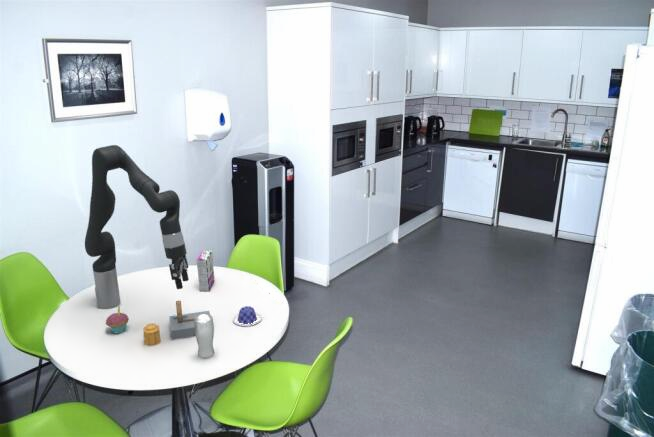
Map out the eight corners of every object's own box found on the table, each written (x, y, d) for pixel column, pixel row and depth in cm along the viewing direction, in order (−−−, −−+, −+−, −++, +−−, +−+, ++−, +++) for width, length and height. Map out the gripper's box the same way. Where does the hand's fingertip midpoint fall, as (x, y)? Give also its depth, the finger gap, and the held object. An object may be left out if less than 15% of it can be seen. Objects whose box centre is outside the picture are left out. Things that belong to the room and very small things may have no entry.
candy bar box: (204, 281, 254) (202, 250, 249) (214, 281, 254) (212, 250, 249) (198, 291, 244) (196, 259, 238) (209, 291, 244) (207, 259, 238)
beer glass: (198, 349, 198) (195, 314, 193) (216, 348, 198) (214, 313, 194) (195, 359, 191) (192, 323, 186) (214, 358, 192) (211, 322, 187)
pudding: (227, 320, 219) (226, 309, 217) (249, 310, 227) (249, 299, 226) (245, 330, 211) (244, 319, 210) (267, 319, 220) (267, 308, 218)
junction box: (171, 339, 204) (170, 328, 202) (170, 324, 215) (169, 314, 213) (212, 333, 209) (212, 322, 207) (209, 319, 219) (209, 308, 218)
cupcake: (134, 326, 213) (131, 300, 209) (120, 337, 206) (116, 310, 202) (117, 323, 216) (113, 297, 212) (102, 333, 208) (98, 306, 204)
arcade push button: (144, 346, 199) (142, 331, 197) (144, 338, 204) (142, 323, 202) (160, 344, 201) (158, 328, 199) (160, 336, 206) (158, 321, 204)
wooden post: (177, 323, 208) (175, 303, 205) (177, 321, 210) (175, 301, 207) (183, 322, 209) (181, 302, 206) (182, 320, 210) (180, 300, 208)
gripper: (169, 240, 202) (178, 279, 206) (158, 250, 188) (167, 292, 192) (188, 237, 202) (197, 277, 205) (178, 248, 188) (187, 290, 192)
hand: (182, 284), depth 199 cm, fingers open, 8 cm apart
